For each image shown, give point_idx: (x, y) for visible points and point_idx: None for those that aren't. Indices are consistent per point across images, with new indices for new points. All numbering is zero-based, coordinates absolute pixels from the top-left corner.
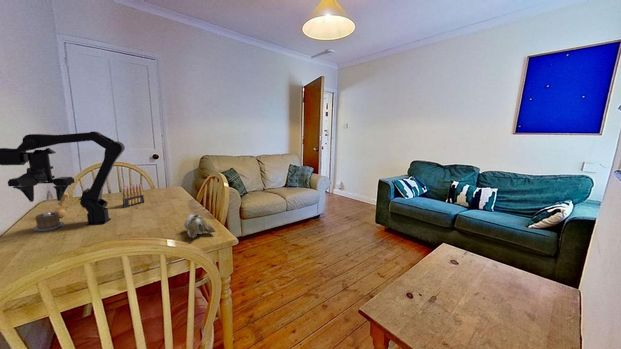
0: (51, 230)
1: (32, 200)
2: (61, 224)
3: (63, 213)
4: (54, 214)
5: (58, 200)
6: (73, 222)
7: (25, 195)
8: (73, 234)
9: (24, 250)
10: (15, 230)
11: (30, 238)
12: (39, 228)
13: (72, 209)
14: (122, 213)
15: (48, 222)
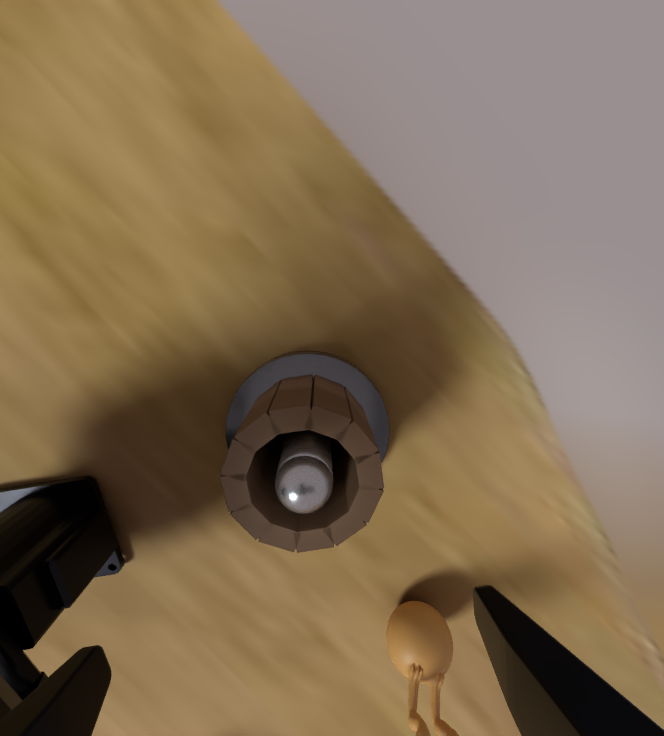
0: (248, 377)
1: (480, 620)
2: None
3: (388, 633)
4: (241, 489)
5: (79, 654)
6: None
7: (636, 710)
8: (24, 305)
9: (88, 2)
10: (491, 384)
11: (261, 238)
12: (322, 377)
13: None
14: None
15: (258, 406)
